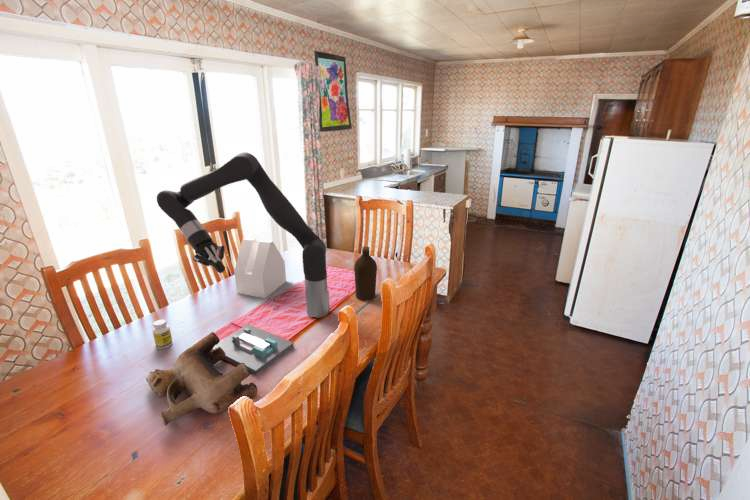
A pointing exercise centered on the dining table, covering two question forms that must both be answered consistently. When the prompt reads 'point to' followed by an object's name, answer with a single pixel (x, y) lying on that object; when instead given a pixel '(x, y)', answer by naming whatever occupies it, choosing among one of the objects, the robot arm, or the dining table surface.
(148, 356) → the dining table surface
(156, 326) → the supplement bottle
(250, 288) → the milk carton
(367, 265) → the olive oil
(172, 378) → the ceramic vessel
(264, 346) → the latch lever
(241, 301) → the dining table surface
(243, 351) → the base plate
